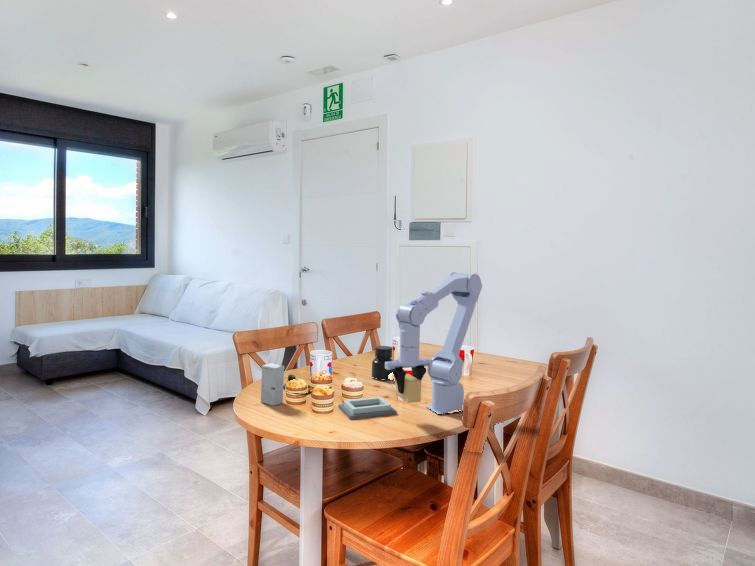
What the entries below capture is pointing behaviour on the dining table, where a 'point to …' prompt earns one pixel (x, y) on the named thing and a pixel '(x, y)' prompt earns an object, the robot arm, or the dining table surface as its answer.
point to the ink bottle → (381, 362)
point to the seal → (291, 377)
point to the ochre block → (410, 389)
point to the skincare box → (272, 384)
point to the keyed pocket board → (366, 408)
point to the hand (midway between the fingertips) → (408, 392)
